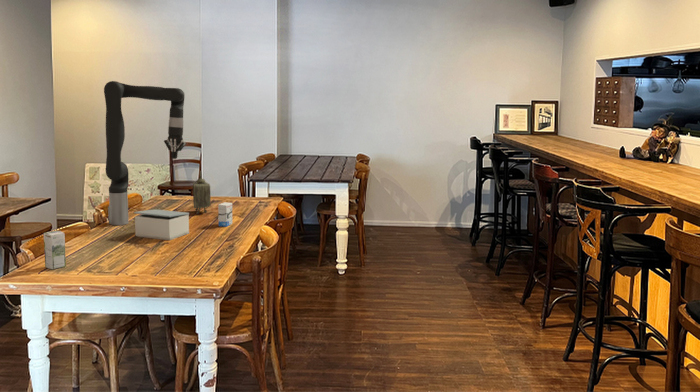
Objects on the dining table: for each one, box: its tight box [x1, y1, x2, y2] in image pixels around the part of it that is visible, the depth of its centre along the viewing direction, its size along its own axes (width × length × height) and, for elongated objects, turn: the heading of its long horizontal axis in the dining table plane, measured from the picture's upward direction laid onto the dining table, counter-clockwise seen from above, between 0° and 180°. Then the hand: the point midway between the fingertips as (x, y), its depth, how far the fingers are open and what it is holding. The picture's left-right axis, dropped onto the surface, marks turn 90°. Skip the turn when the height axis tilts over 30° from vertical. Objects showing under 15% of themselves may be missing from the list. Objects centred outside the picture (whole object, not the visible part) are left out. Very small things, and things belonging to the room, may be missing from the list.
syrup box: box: [43, 230, 67, 270], centre depth 247 cm, size 6×6×14 cm
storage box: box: [134, 213, 190, 241], centre depth 305 cm, size 20×16×10 cm
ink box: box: [217, 201, 233, 228], centre depth 331 cm, size 8×5×12 cm, turn 168°
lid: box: [133, 208, 190, 217], centre depth 304 cm, size 21×16×1 cm
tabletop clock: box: [192, 170, 212, 215], centre depth 361 cm, size 14×9×25 cm, turn 17°
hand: (174, 158), depth 327 cm, fingers closed
